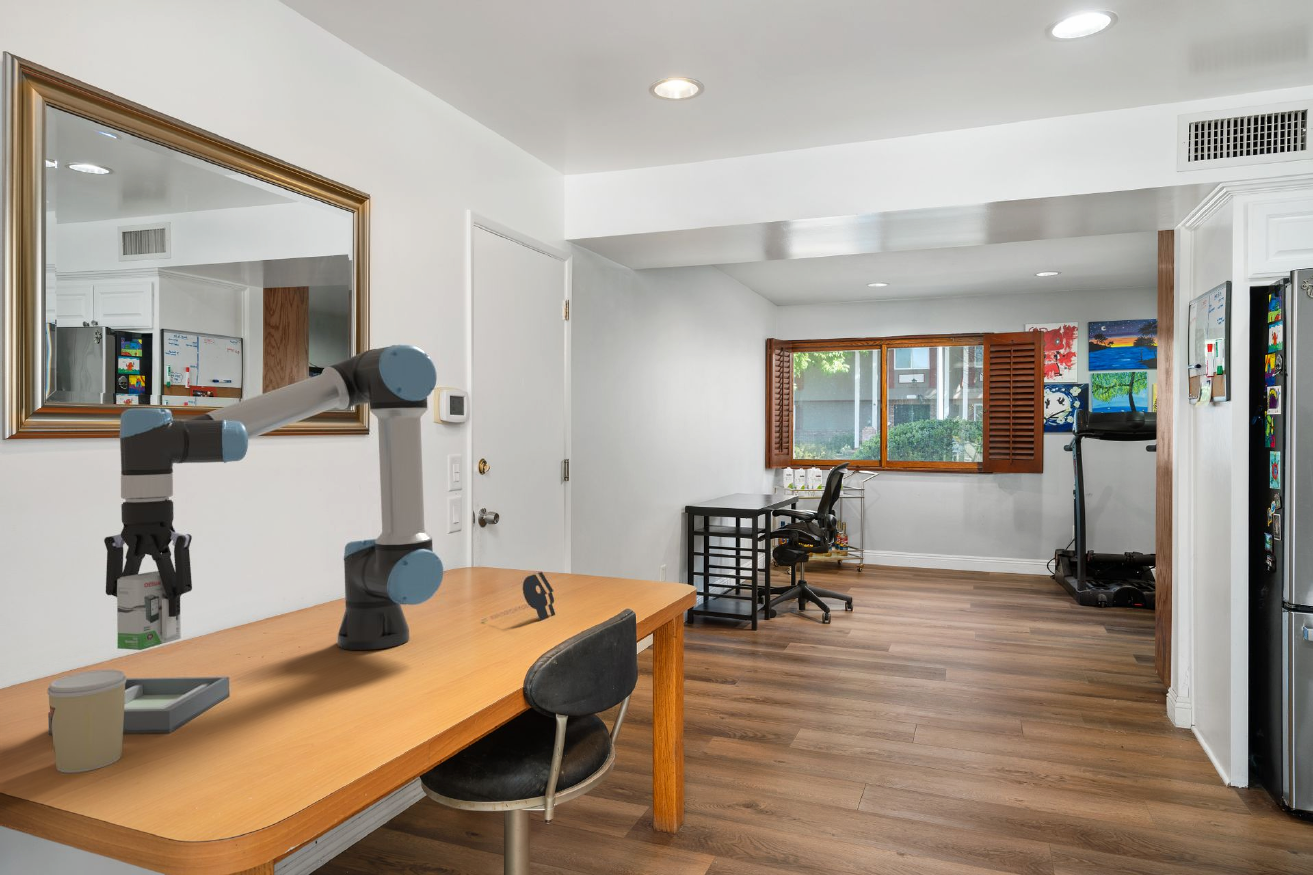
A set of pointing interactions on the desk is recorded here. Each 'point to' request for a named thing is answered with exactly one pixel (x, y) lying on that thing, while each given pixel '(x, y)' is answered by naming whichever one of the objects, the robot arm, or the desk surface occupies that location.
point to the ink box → (141, 612)
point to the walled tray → (167, 702)
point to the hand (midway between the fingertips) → (150, 635)
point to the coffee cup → (87, 719)
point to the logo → (536, 596)
